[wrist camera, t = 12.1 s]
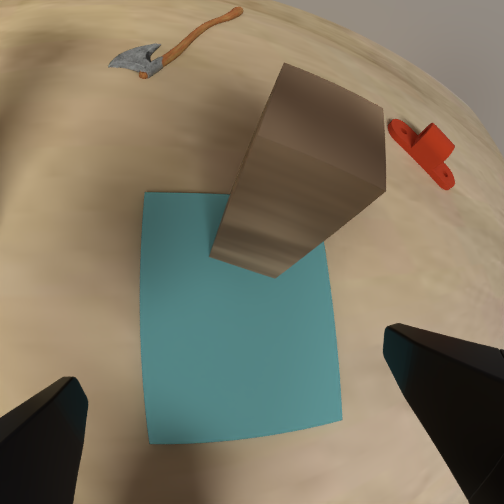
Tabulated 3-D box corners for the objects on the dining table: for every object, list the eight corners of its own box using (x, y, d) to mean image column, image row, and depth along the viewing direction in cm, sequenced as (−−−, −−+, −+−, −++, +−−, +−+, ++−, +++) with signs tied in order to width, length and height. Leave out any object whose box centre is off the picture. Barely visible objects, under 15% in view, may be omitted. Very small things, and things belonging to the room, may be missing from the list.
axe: (208, 2, 35) (210, -6, 33) (243, 16, 36) (246, 8, 34) (104, 67, 26) (103, 56, 25) (147, 85, 27) (147, 74, 25)
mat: (338, 418, 20) (342, 420, 20) (150, 441, 17) (149, 444, 16) (313, 203, 26) (316, 200, 25) (145, 196, 22) (144, 192, 22)
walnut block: (275, 278, 22) (385, 191, 10) (208, 256, 21) (257, 135, 9) (288, 219, 24) (383, 108, 12) (228, 198, 23) (284, 62, 11)
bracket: (451, 180, 34) (475, 163, 29) (446, 196, 32) (472, 178, 28) (391, 120, 34) (412, 97, 30) (382, 131, 33) (405, 106, 28)
